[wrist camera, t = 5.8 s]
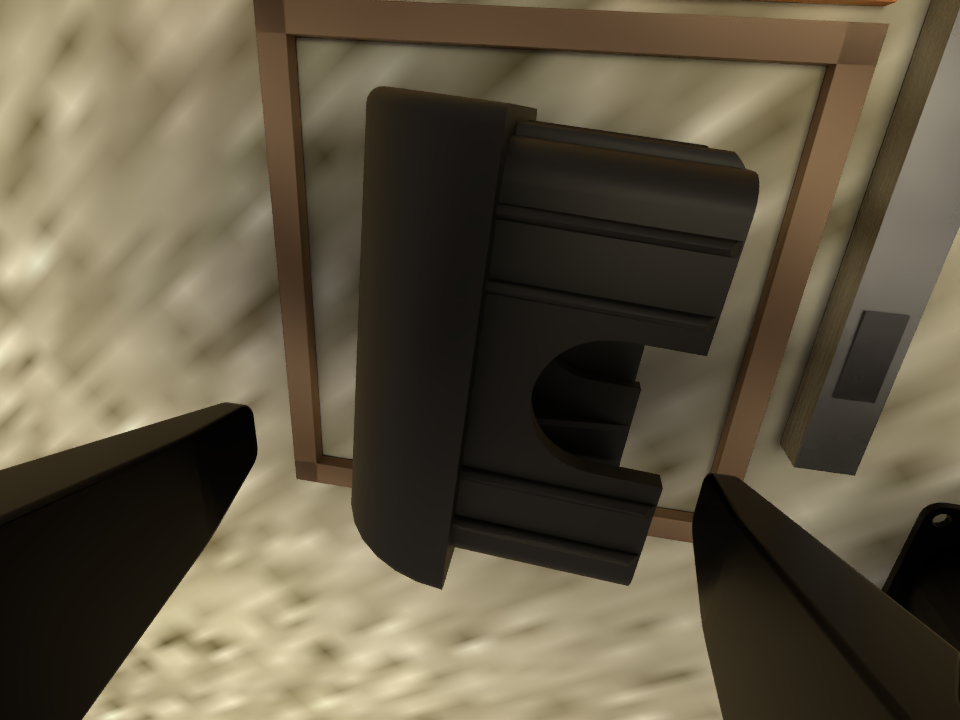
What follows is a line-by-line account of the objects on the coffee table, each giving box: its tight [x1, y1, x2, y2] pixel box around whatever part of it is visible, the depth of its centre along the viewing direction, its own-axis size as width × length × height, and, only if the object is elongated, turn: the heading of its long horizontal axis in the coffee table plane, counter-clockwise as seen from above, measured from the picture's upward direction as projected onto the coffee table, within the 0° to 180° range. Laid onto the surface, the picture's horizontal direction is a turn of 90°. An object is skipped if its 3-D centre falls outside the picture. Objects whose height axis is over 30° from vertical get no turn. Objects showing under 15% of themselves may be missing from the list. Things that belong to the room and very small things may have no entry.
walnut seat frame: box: [253, 0, 889, 543], centre depth 16 cm, size 15×15×1 cm
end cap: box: [351, 86, 759, 590], centre depth 13 cm, size 10×7×7 cm
